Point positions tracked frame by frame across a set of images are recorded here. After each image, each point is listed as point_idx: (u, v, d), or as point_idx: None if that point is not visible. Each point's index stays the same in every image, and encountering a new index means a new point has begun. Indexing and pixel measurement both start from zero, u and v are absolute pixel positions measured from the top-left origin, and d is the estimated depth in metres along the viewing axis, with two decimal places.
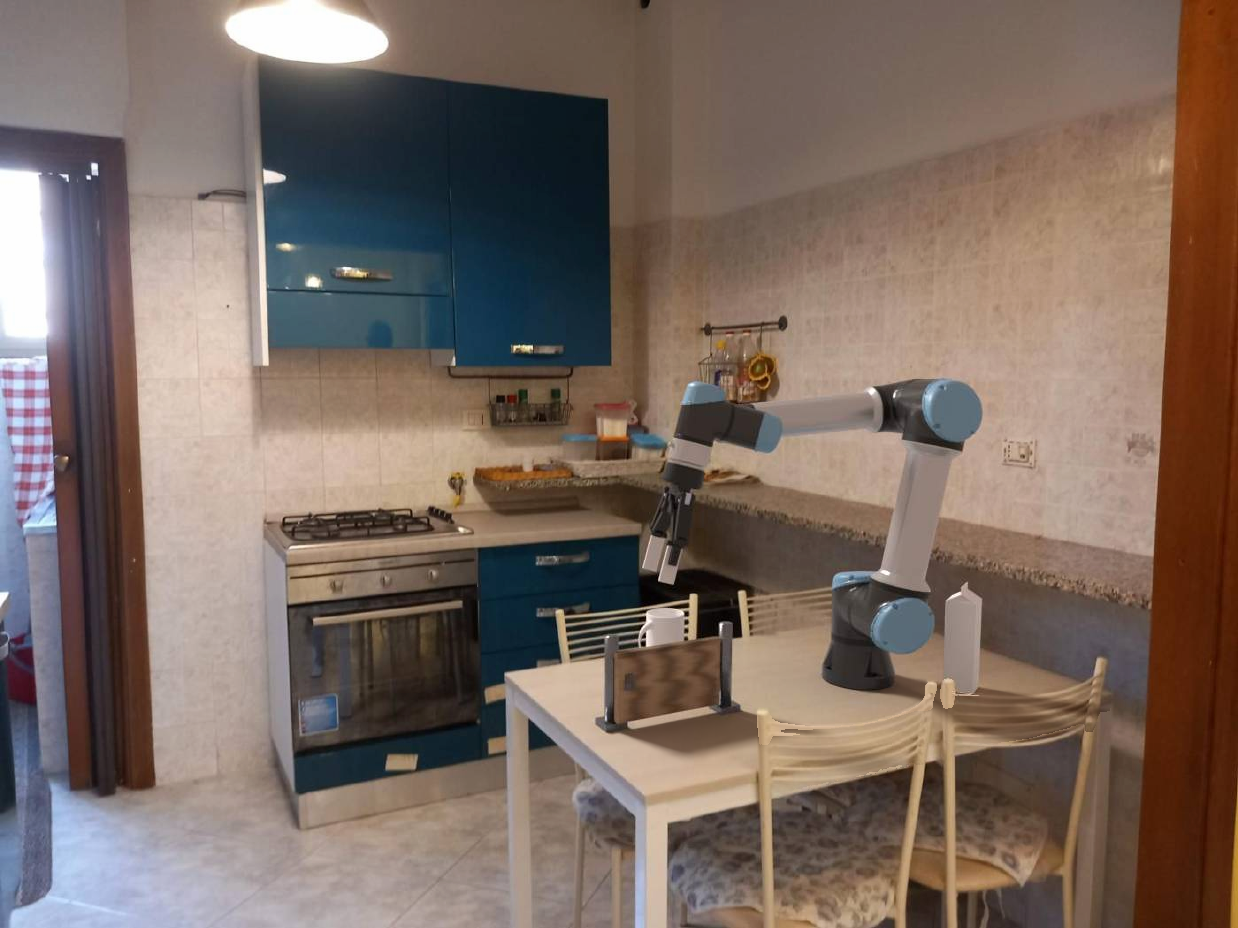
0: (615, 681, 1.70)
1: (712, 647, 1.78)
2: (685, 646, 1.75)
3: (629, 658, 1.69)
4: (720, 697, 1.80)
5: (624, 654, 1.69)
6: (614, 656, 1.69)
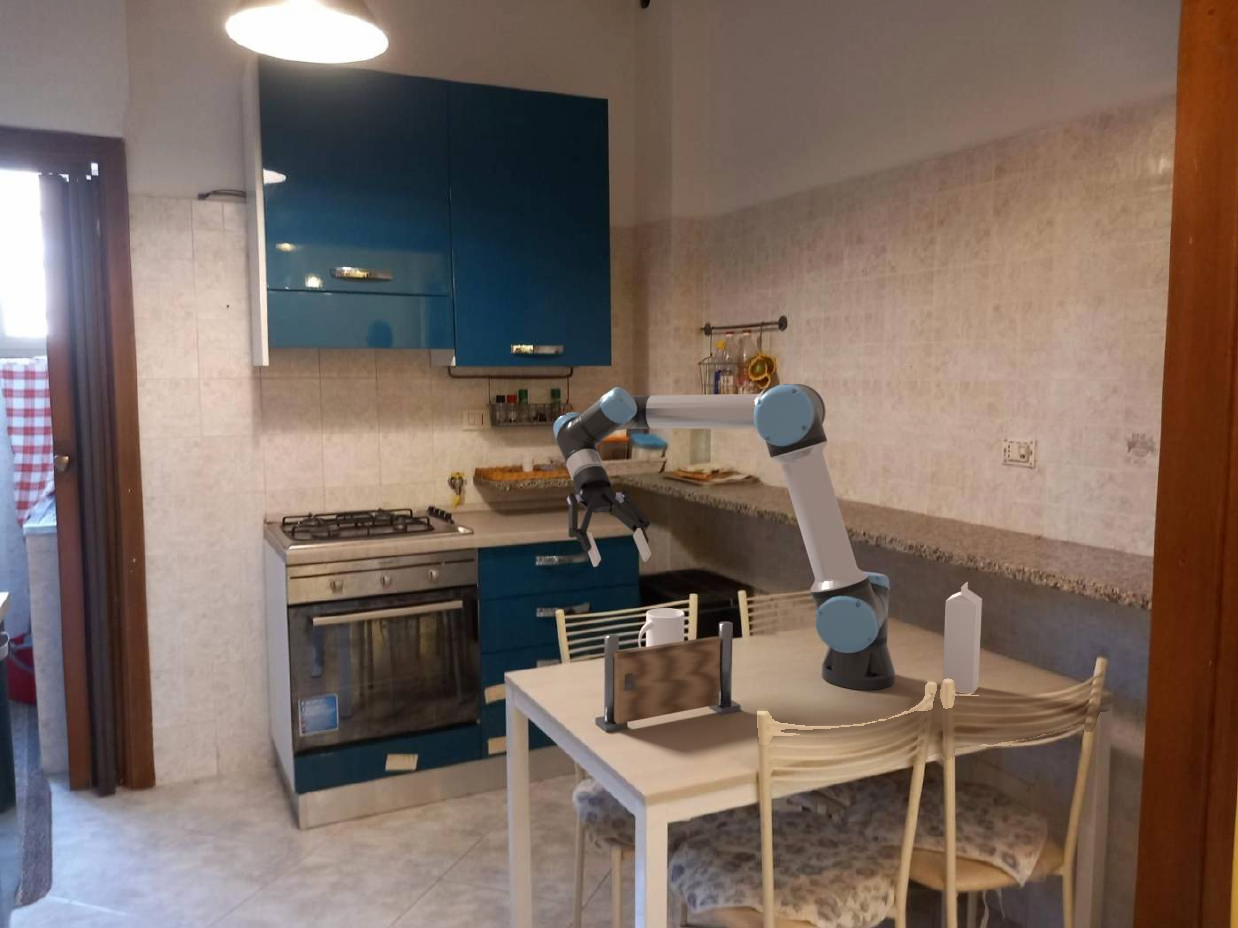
0: (615, 681, 1.70)
1: (712, 647, 1.78)
2: (685, 646, 1.75)
3: (629, 658, 1.69)
4: (720, 697, 1.80)
5: (624, 654, 1.69)
6: (614, 656, 1.69)
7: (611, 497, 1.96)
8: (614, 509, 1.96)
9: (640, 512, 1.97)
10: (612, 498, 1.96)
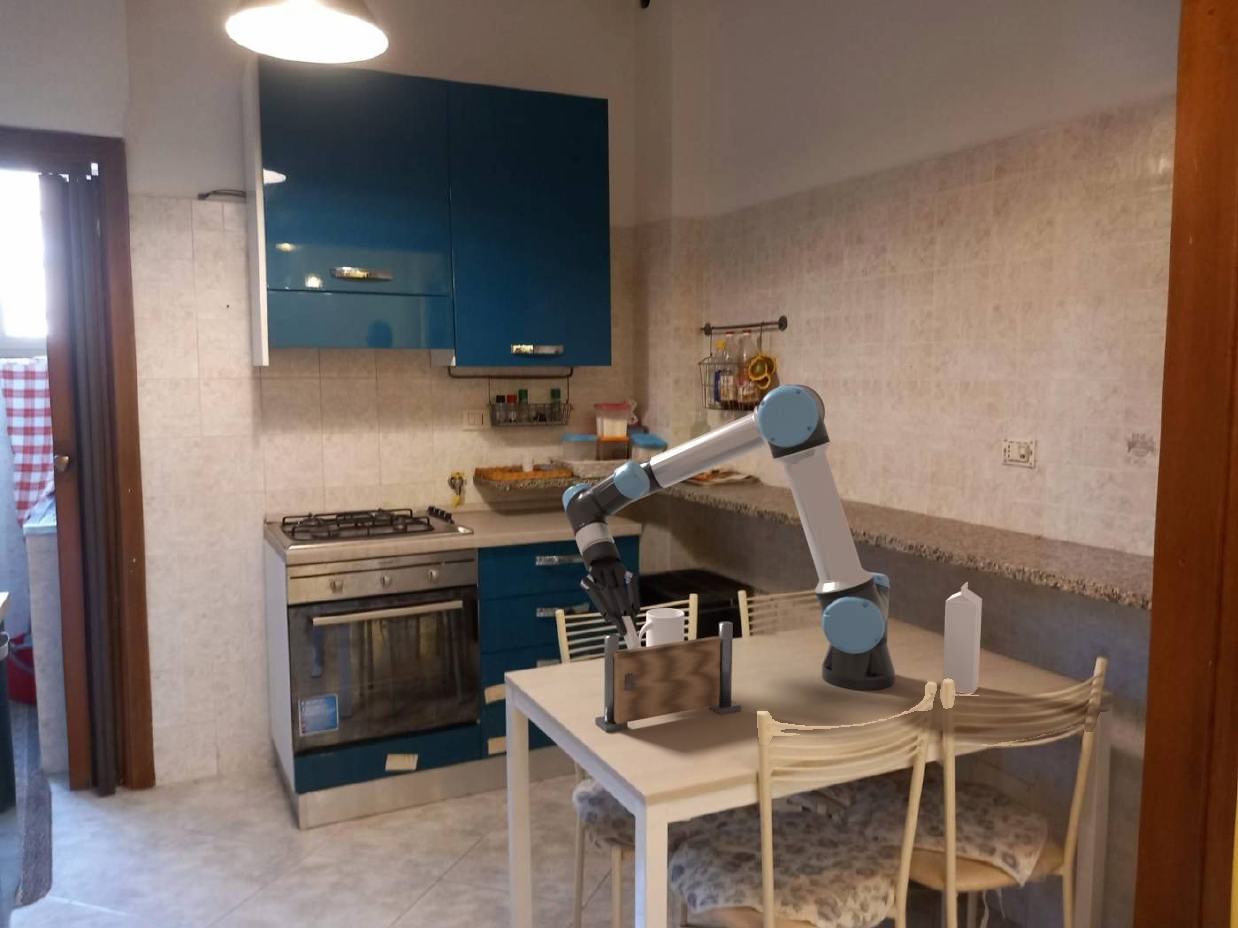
0: (615, 681, 1.70)
1: (712, 647, 1.78)
2: (685, 646, 1.75)
3: (629, 658, 1.69)
4: (720, 697, 1.80)
5: (624, 654, 1.69)
6: (614, 656, 1.69)
7: (618, 575, 1.92)
8: (616, 588, 1.91)
9: (637, 597, 1.90)
10: (618, 576, 1.92)
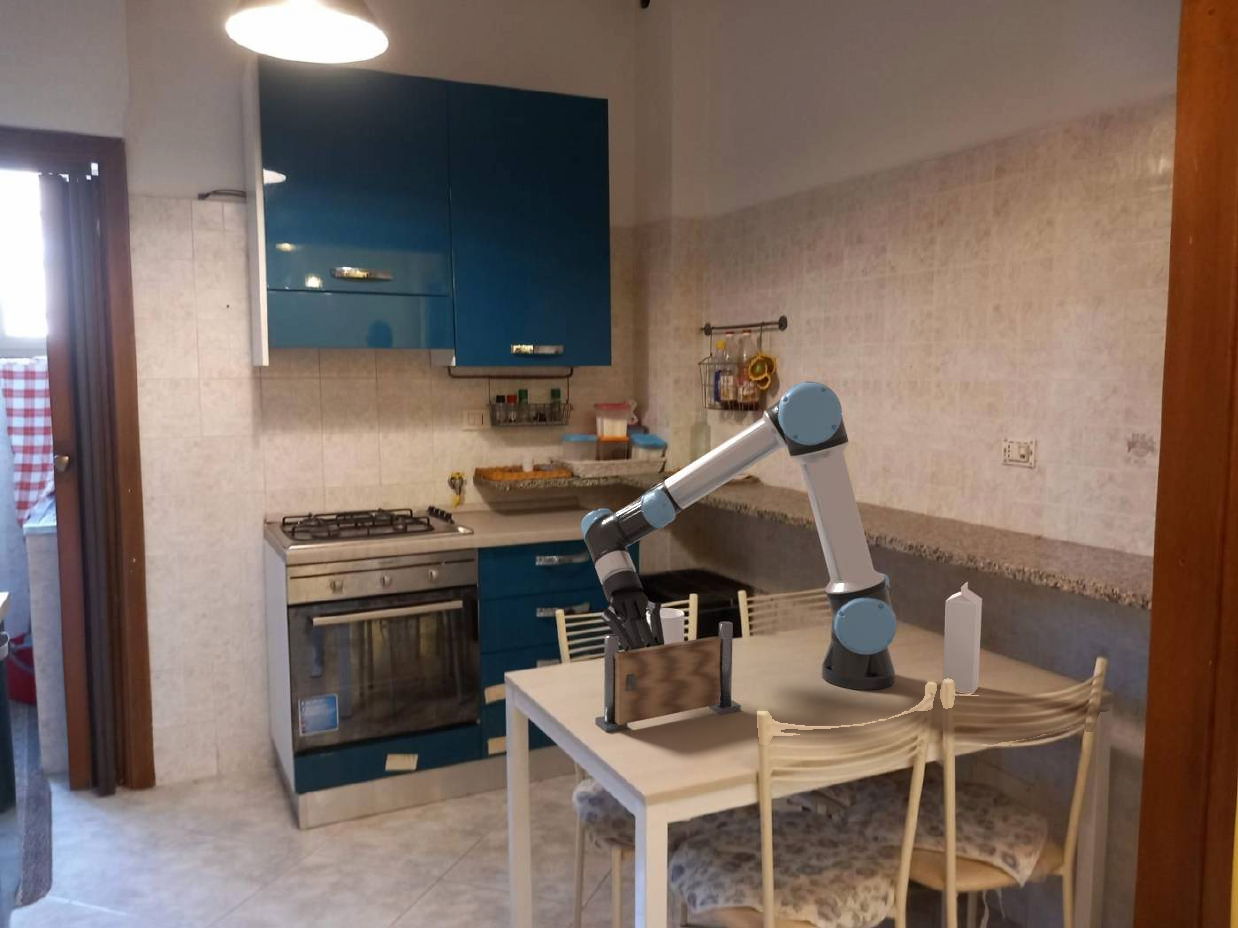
0: (616, 682, 1.69)
1: (713, 647, 1.78)
2: (686, 646, 1.75)
3: (630, 659, 1.69)
4: (720, 697, 1.80)
5: (625, 655, 1.68)
6: (615, 657, 1.69)
7: (641, 606, 1.84)
8: (638, 619, 1.83)
9: (660, 629, 1.82)
10: (641, 607, 1.84)
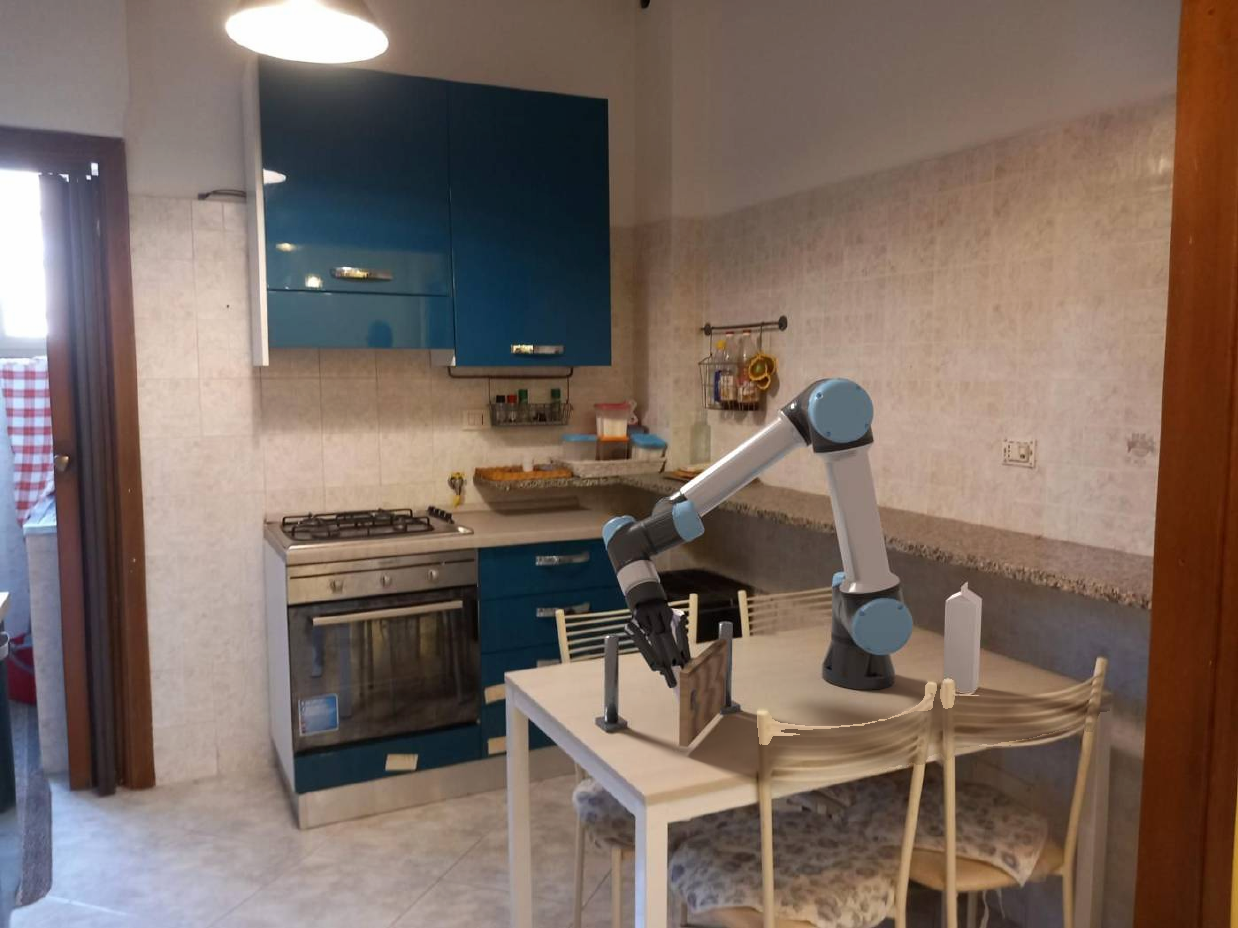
0: (682, 702, 1.59)
1: (723, 649, 1.77)
2: (714, 652, 1.71)
3: (692, 675, 1.60)
4: None
5: (690, 672, 1.59)
6: (682, 676, 1.58)
7: (666, 619, 1.75)
8: (663, 633, 1.74)
9: (686, 644, 1.73)
10: (666, 620, 1.75)
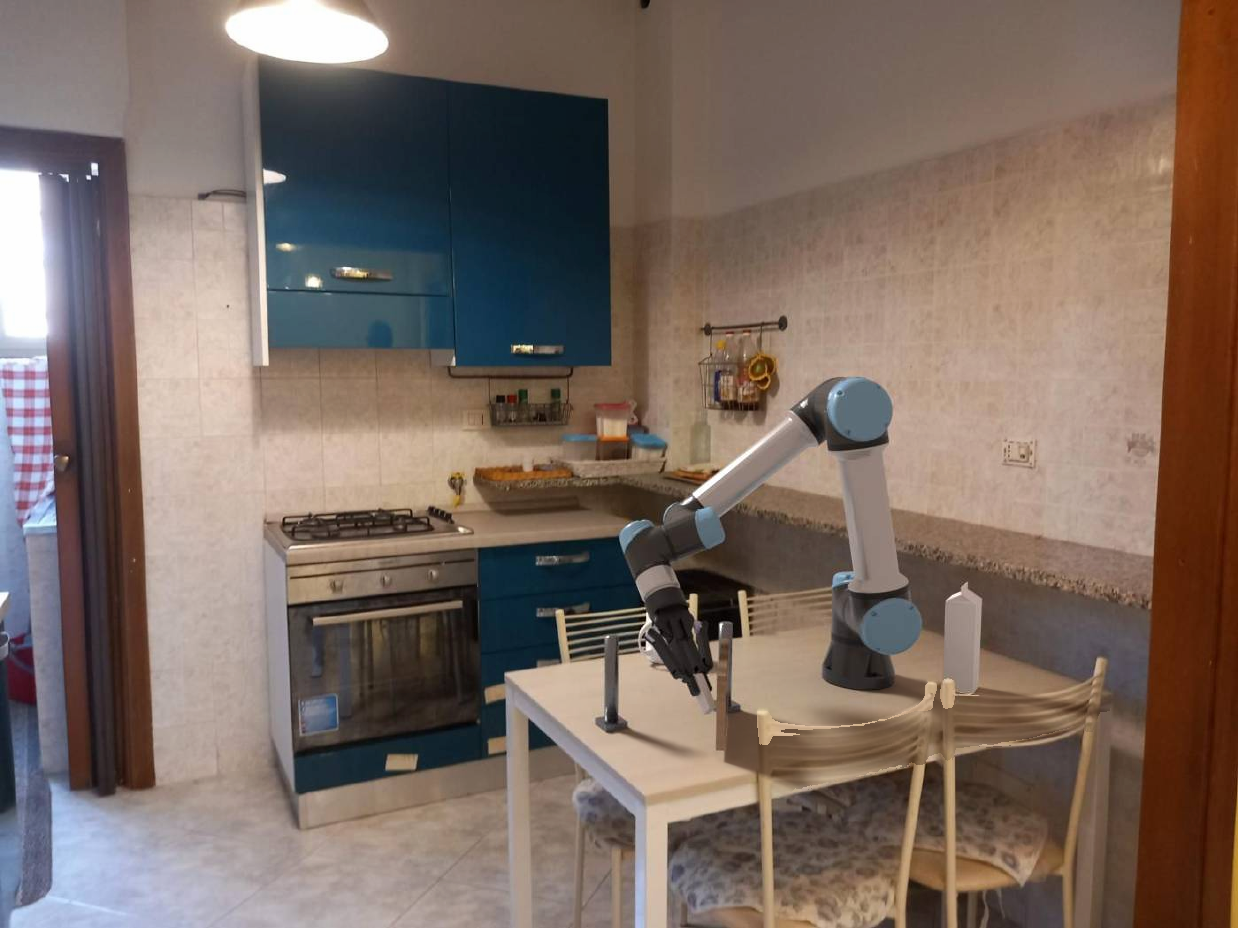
0: (719, 706, 1.57)
1: None
2: None
3: None
4: None
5: (726, 674, 1.58)
6: (719, 680, 1.56)
7: (687, 625, 1.70)
8: (684, 640, 1.69)
9: (708, 651, 1.69)
10: (687, 627, 1.70)
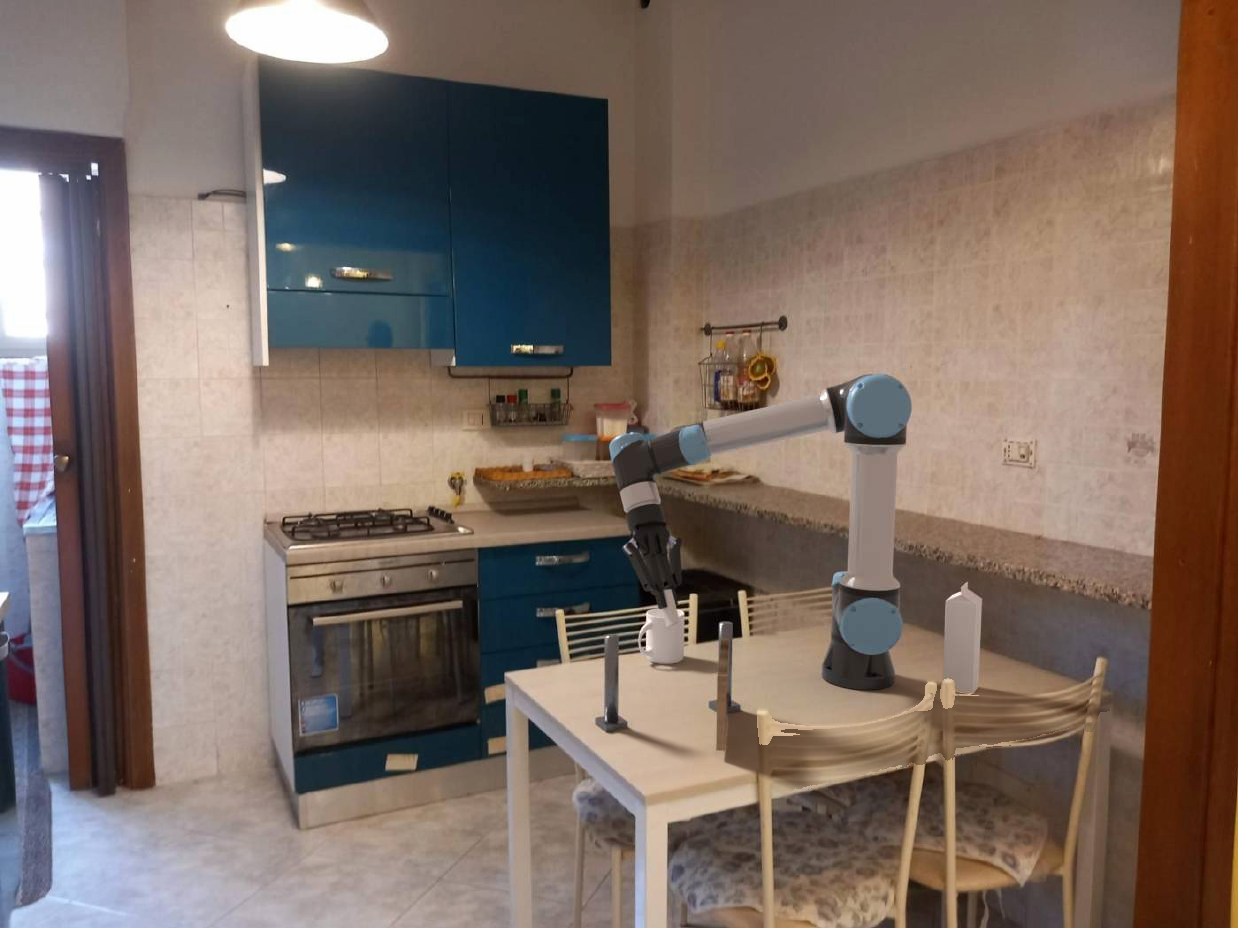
0: (720, 706, 1.57)
1: None
2: (728, 653, 1.70)
3: None
4: None
5: (726, 674, 1.58)
6: (720, 680, 1.56)
7: (663, 542, 1.82)
8: (658, 554, 1.82)
9: (679, 568, 1.82)
10: (663, 543, 1.82)
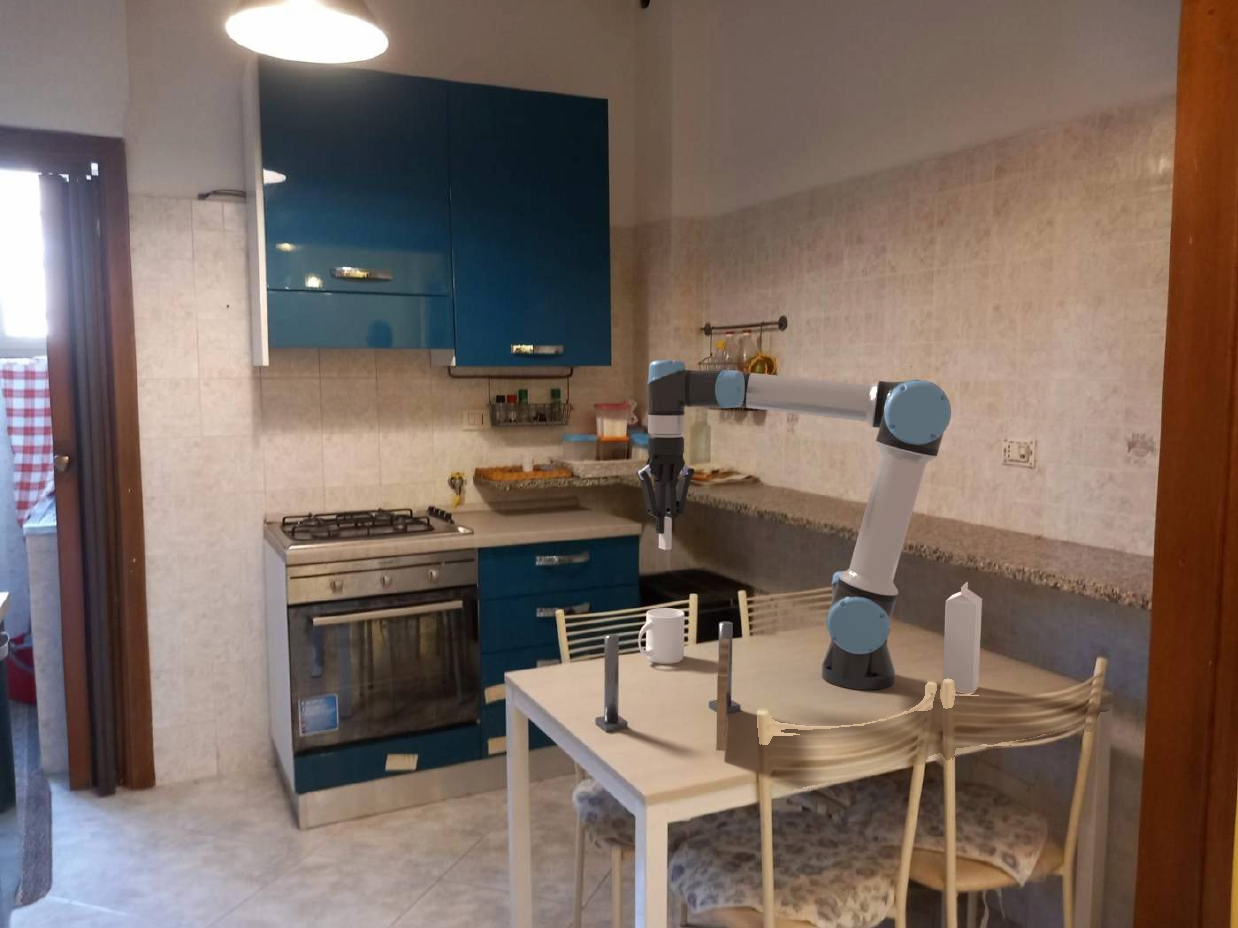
0: (720, 706, 1.57)
1: None
2: (728, 653, 1.70)
3: None
4: None
5: (726, 674, 1.58)
6: (720, 680, 1.56)
7: (675, 473, 1.92)
8: (669, 482, 1.93)
9: (684, 498, 1.95)
10: (675, 475, 1.92)
